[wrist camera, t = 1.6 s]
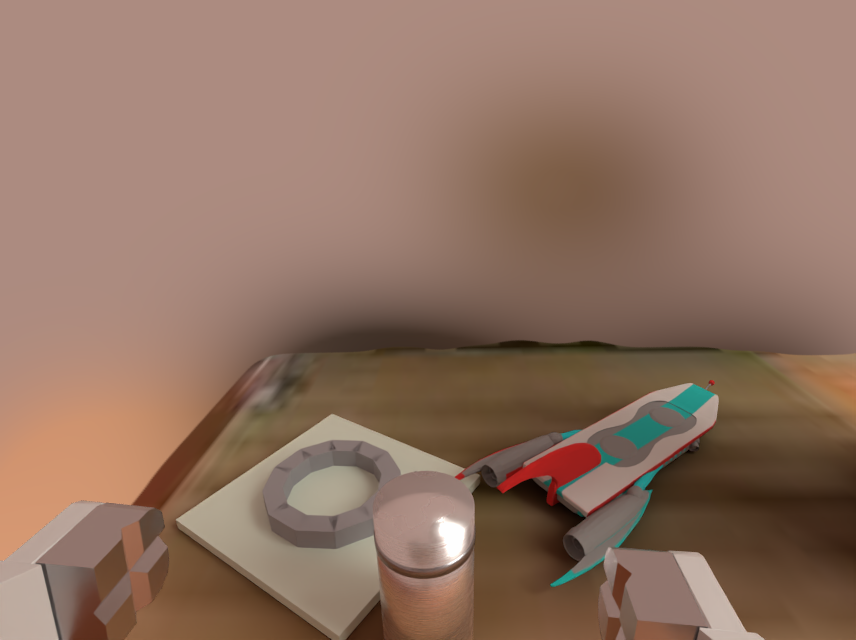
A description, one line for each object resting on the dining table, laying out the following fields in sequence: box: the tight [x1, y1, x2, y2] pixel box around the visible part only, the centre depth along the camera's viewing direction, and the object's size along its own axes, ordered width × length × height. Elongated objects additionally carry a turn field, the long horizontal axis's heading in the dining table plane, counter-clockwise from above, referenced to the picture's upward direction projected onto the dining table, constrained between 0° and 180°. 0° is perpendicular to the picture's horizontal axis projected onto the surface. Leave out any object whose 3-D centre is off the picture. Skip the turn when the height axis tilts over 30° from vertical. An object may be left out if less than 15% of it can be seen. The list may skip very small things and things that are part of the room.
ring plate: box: [176, 414, 480, 640], centre depth 40 cm, size 16×16×2 cm
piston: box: [373, 471, 475, 640], centre depth 28 cm, size 5×5×10 cm
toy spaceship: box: [455, 380, 719, 587], centre depth 43 cm, size 27×11×5 cm, turn 131°
